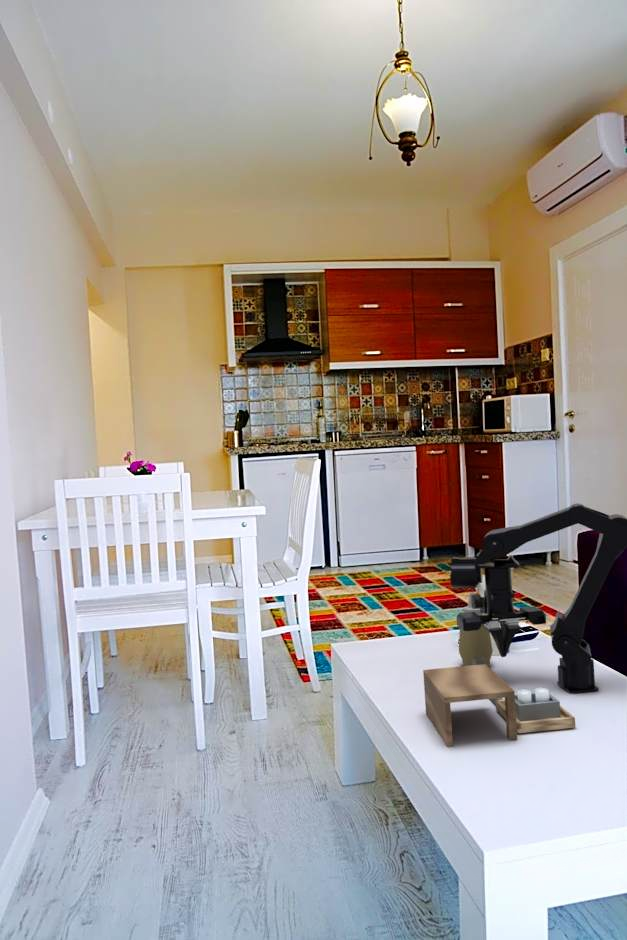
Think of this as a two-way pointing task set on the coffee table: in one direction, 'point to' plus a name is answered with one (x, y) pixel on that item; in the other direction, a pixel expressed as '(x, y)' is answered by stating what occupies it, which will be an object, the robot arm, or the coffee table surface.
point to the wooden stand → (464, 695)
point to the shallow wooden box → (532, 725)
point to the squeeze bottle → (474, 640)
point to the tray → (536, 705)
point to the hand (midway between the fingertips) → (503, 656)
